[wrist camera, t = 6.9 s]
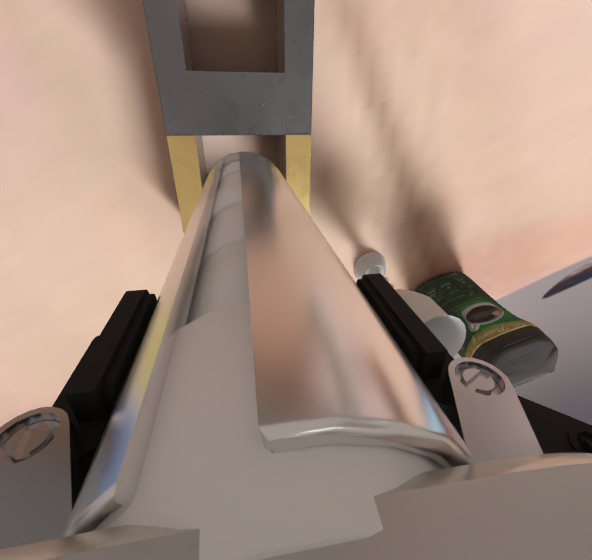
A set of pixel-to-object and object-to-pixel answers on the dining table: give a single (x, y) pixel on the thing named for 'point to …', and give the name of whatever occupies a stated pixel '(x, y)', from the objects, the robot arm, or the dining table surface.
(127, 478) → the silver long cylinder
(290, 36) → the dock
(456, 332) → the chalice
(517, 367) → the coffee jar
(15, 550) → the robot arm
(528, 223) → the dining table surface
